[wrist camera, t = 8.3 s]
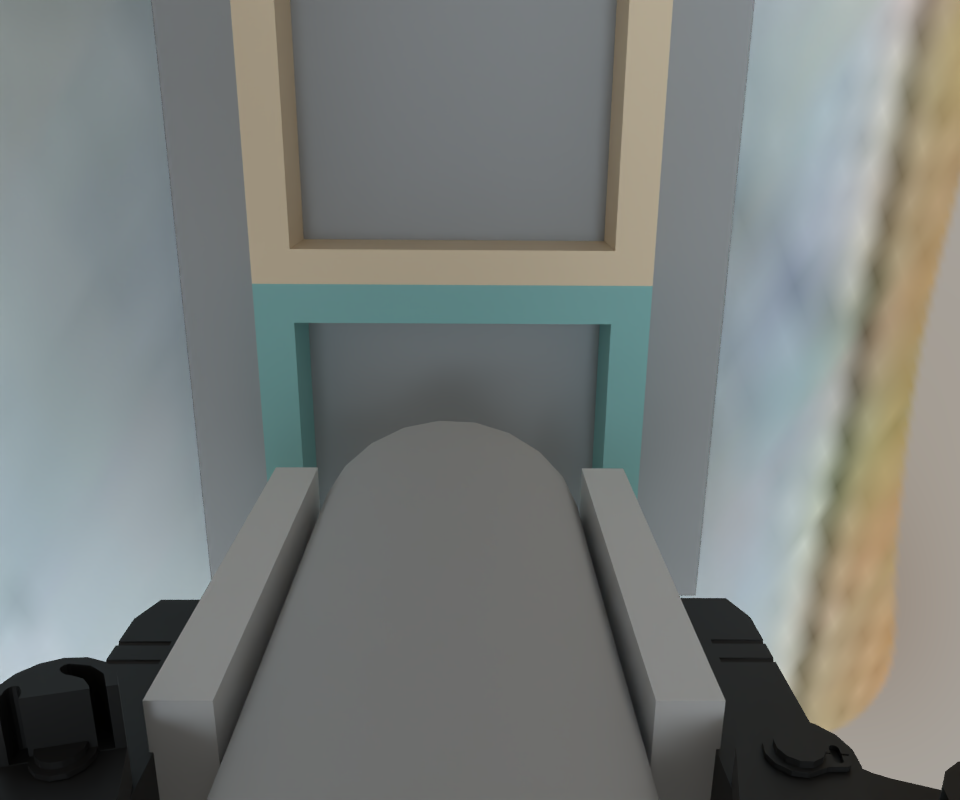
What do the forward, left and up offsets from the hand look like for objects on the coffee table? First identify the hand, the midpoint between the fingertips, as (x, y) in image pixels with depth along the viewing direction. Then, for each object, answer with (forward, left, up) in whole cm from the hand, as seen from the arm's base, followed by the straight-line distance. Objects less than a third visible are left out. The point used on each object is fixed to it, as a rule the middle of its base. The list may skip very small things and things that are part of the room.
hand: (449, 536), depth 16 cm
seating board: (-4, 0, -5) cm, 7 cm away
